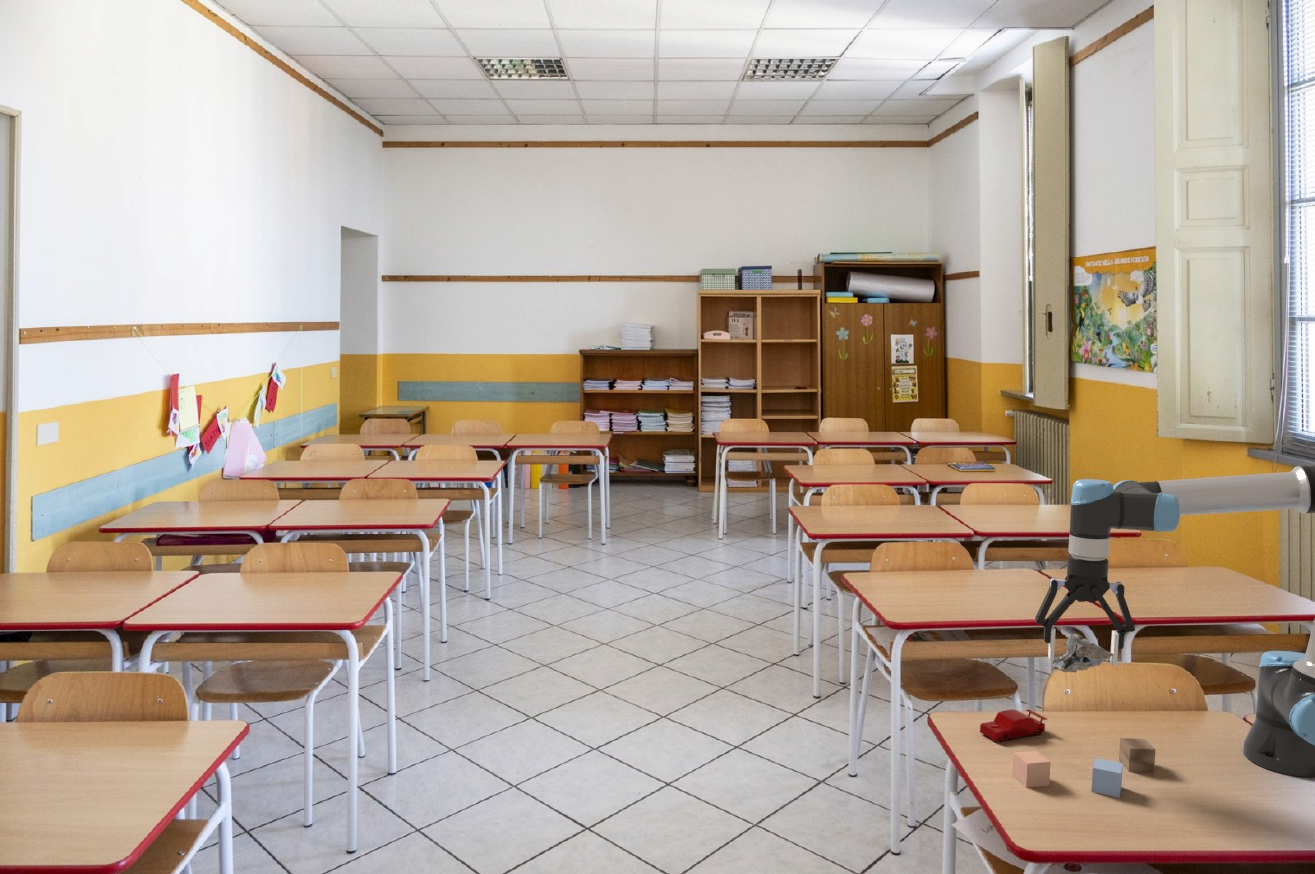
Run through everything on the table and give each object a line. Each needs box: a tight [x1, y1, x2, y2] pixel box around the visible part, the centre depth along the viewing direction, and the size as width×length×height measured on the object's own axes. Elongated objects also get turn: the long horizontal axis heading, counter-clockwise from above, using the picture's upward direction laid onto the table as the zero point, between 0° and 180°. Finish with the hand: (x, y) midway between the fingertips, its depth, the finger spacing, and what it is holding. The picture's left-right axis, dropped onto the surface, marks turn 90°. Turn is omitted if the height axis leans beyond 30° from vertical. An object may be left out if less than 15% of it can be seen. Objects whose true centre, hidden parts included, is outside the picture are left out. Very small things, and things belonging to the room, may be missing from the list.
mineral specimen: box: [1051, 633, 1113, 673], centre depth 197 cm, size 10×8×10 cm
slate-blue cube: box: [1090, 757, 1124, 798], centre depth 189 cm, size 5×5×5 cm
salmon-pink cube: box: [1011, 750, 1051, 788], centre depth 193 cm, size 5×5×5 cm
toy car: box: [979, 708, 1048, 743], centre depth 215 cm, size 14×6×5 cm, turn 112°
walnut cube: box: [1118, 737, 1156, 773], centre depth 200 cm, size 5×5×5 cm
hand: (1082, 660), depth 198 cm, fingers closed on mineral specimen, 11 cm apart
